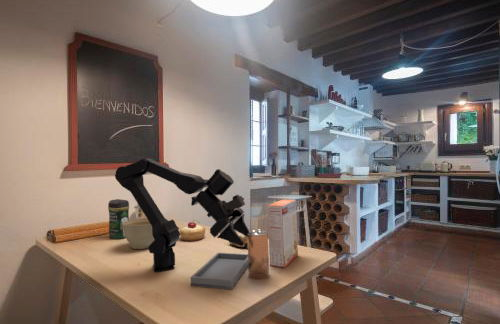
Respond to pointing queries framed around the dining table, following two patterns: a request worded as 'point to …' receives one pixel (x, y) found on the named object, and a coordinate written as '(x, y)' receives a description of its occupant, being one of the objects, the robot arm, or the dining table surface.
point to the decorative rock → (244, 239)
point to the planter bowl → (138, 233)
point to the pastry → (192, 232)
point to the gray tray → (221, 271)
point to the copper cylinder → (258, 254)
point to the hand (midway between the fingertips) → (246, 240)
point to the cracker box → (282, 232)
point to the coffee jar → (117, 217)
